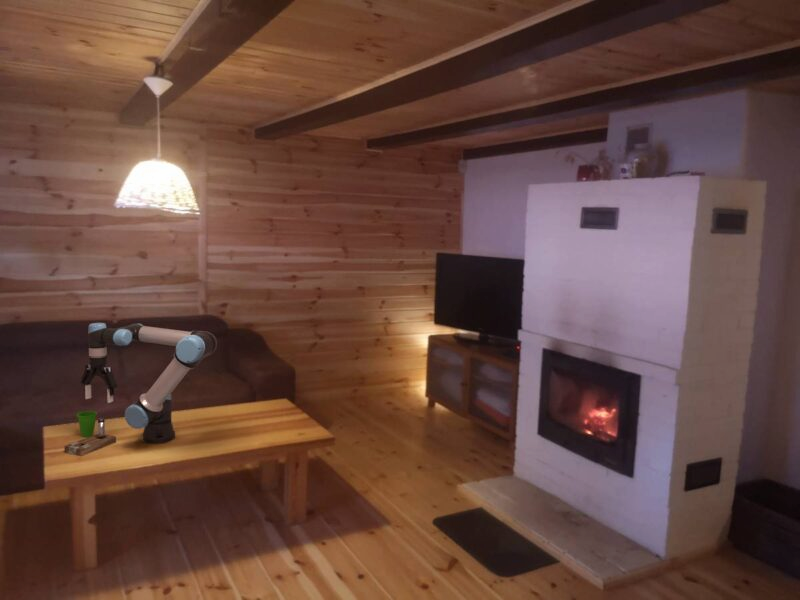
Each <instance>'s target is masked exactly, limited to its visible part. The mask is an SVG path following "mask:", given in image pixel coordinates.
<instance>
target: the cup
mask: <svg viewBox="0 0 800 600" xmlns="http://www.w3.org/2000/svg"><path fill="white" fill-rule="evenodd" d="M97 414H98V412H97V411H95V410H87V411H86V410H85V411H81V412H78V413H77V414H76V417H77V419H78V425H79V429H80V436H81V437H82V438H88V437H91V436H93V435H94V432H95V426H96V421H97V420H96V418H97Z"/></svg>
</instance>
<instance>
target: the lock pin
mask: <svg viewBox="0 0 800 600" xmlns="http://www.w3.org/2000/svg"><path fill="white" fill-rule="evenodd" d="M105 420H106V419H105V418H104V417H98V418H97V434H98V439H103V438H105V434H106V426H105V425H106V423H105Z"/></svg>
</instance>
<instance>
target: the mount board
mask: <svg viewBox="0 0 800 600" xmlns="http://www.w3.org/2000/svg"><path fill="white" fill-rule="evenodd" d="M116 443H117V436H116V435H111V434H106V433H105V438H103V439H98V433H96V434H93V436H91V437H84V438H82V439H79V440H77V441H75V440H74V441H73V442H70V443H68V444H66V445H63V446H64V453H66V454H71V455H75V456H78V457H83V456H86V455H88V454H90V453H93V452H95V451H97V450H101V449H103V448H106V447H108V446H111V445H113V444H116Z"/></svg>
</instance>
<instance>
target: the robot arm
mask: <svg viewBox="0 0 800 600" xmlns="http://www.w3.org/2000/svg"><path fill="white" fill-rule="evenodd" d="M87 335H88V356H89V358H88V362H89V364H86V365H85V366H84V372H83V374H82V377H81V380H80V384H82V385H83V387H84V398H85V400H88V399H91V398H92V384H91V382H92V381H93V379H94V378H95V377H96V376H97V377H100V378H101V379H102V381H103V382H104V383H105V385H106V387H107V388H106V393H107V395H106V397H107V401H106V402H107V404H110V403H112V402H114V395H115V389H116V388H118V384H117V382H116V379H115V376H114V373H113V371H112V370H113V369H112V367H111V366H108V367H107V364H108V357H107V352H108V351H107V347H108V346H107V345H109V346H110V345H112V346H119V347H121V346H128V345H130V343H131V342H133V341H134V342H143V343H150V344H151V343H152V344H158V345H165V346H166V345H167V346H174V347H175V351H174V352H173V357H174V358H172V360H171V361H170V363H169V364H168V365H167V367H166V368H165V369H164V370H163V372H162V373H161V374H160V375H159V377H158V378H157V379H156V381H155V382H154V383H153V385H152V386H151V387H150V389H149V390H148V391H147V392H146V393H142V394H141V395H139V397H138V398H137V400H136V401H135V402H133V404H131V405H129V406H128V407H127V408H126V409H125V412H124V418H125V422H126V423H127V424H128V426H130V427H131V428H133V429H135V430H137V429H138V430H139V429H140V430H141V429H143V432H142V435H141V438H142V441H143V442H144V443H148V444H162V443H168V442H171V441H173V440H175V439H176V431H175V429H174V426H173V422H172V412H173V411H172V408H173V407H172V405H173V404H172V403H173V402H172V401H173V399H172V392H173V391H174V390H175V388H176V387H178V385H179V384H180V382H181V381H182V380H183V378H184V377H185V376H186V375H187V373H188V372H189V371H190V370H193V369H196V367H197V366H198V365H199V363H201V361H202V360H203V359H204V358H206V357H209V356H211V355H212V354H213V353H215V351H216V350H217V346H218V341H217V338H216V336H215V334H213V333H211V332H209V331H206V330H205V331H204V330H197V329H196V330H195V329H194V330H192V331H188V330H187V331H186V330H178V329H172V328H171V329H170V328H163V327H155V326H154V327H153V326H148V325H147V326H146V325H143V324H142V323H132V324H130V325H129V324H128V325H126V326H121V327H118V328H109V327H107V324H106V323H105V322H93V323H90V324H89V325H88V331H87Z"/></svg>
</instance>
